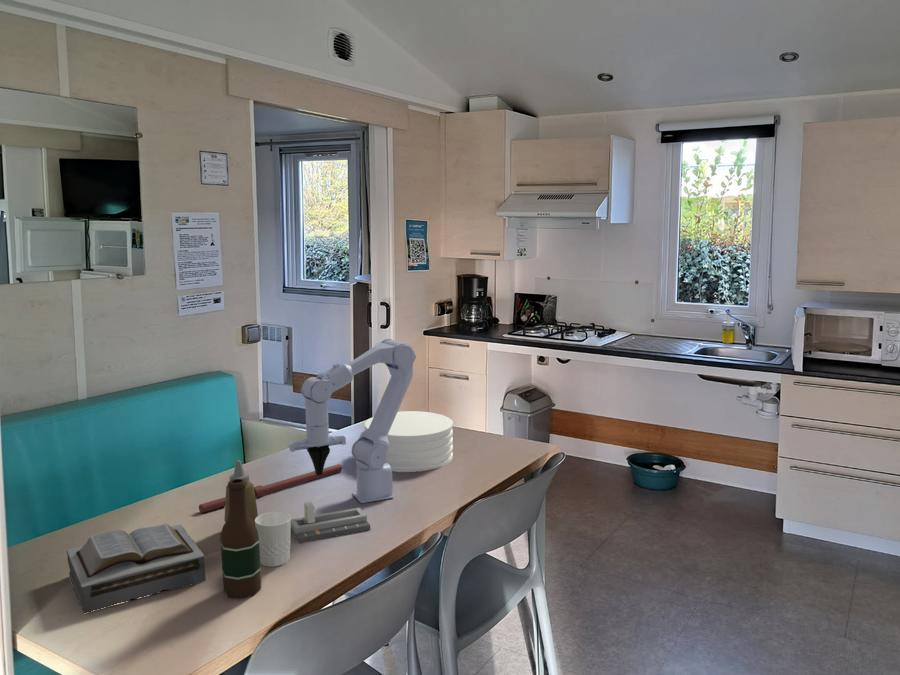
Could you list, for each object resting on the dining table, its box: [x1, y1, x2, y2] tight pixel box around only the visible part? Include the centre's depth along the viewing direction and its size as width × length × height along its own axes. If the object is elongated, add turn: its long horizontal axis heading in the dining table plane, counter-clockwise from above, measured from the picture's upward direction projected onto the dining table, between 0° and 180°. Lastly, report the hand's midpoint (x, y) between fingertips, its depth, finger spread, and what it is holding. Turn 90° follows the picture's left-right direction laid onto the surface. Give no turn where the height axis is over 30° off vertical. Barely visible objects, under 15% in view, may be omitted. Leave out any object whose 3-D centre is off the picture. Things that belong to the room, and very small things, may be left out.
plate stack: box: [364, 410, 454, 473], centre depth 240 cm, size 28×28×12 cm
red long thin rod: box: [198, 463, 343, 514], centre depth 212 cm, size 45×3×3 cm, turn 135°
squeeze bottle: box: [224, 460, 259, 524], centre depth 184 cm, size 8×8×18 cm
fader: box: [302, 501, 317, 525], centre depth 185 cm, size 3×4×6 cm
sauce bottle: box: [220, 479, 262, 600], centre depth 155 cm, size 8×8×24 cm
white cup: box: [255, 511, 292, 568], centre depth 170 cm, size 8×8×10 cm
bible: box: [66, 523, 207, 614], centre depth 161 cm, size 23×27×10 cm
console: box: [291, 507, 371, 543], centre depth 188 cm, size 18×11×3 cm, turn 115°
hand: (318, 473), depth 197 cm, fingers closed
